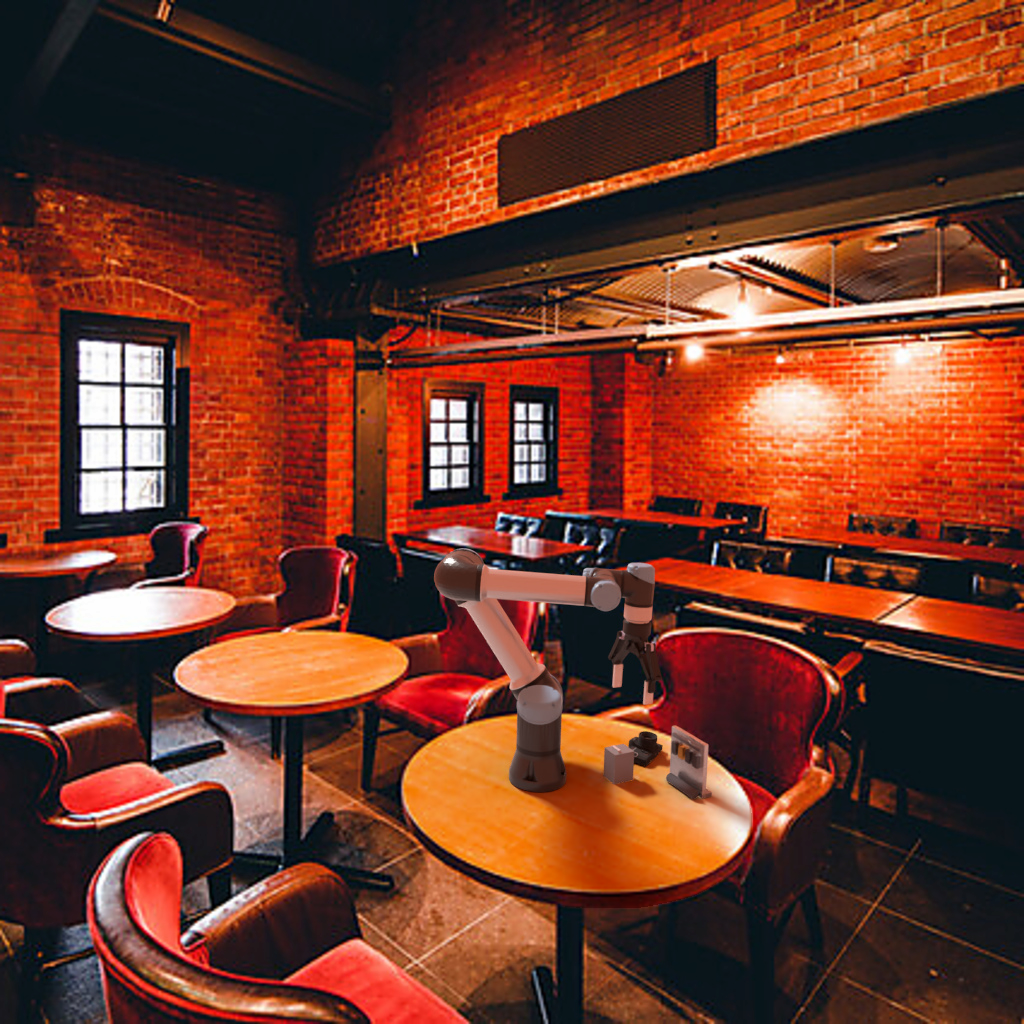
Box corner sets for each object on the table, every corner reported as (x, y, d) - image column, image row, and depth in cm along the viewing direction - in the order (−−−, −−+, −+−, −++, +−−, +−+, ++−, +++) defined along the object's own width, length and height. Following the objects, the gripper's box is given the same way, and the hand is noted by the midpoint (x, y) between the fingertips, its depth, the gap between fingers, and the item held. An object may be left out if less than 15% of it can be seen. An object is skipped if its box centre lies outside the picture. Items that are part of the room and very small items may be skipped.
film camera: (648, 751, 199) (620, 730, 206) (640, 774, 201) (612, 753, 207) (675, 739, 208) (647, 720, 215) (667, 762, 210) (640, 742, 217)
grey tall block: (613, 784, 191) (615, 753, 190) (603, 776, 195) (604, 745, 194) (636, 779, 194) (637, 748, 193) (625, 771, 198) (626, 741, 197)
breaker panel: (698, 799, 184) (701, 746, 182) (666, 776, 196) (669, 726, 194) (711, 796, 186) (714, 743, 184) (679, 774, 197) (681, 724, 196)
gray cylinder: (698, 798, 185) (698, 789, 184) (690, 800, 184) (691, 791, 183) (673, 780, 194) (673, 772, 193) (665, 782, 193) (666, 773, 192)
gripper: (679, 630, 191) (672, 709, 193) (620, 607, 212) (615, 678, 215) (656, 633, 187) (650, 713, 189) (599, 609, 208) (594, 681, 211)
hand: (631, 695), depth 202 cm, fingers open, 13 cm apart
